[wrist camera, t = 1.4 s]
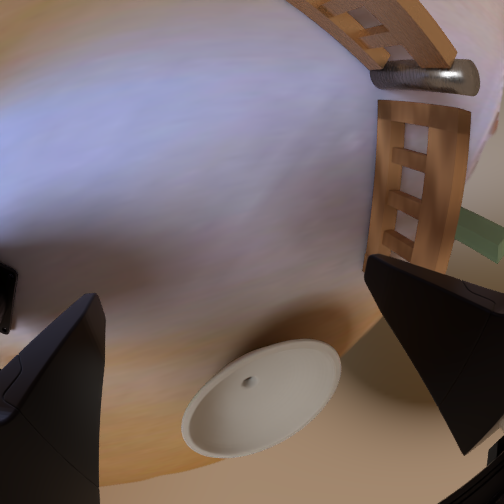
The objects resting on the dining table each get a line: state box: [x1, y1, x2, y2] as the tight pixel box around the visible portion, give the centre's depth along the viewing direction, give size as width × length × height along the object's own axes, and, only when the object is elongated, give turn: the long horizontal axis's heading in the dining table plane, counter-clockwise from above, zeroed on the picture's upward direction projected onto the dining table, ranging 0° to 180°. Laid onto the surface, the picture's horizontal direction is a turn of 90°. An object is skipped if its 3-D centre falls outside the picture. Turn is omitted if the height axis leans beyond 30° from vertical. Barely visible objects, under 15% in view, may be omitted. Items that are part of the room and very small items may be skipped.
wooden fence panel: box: [286, 0, 480, 96], centre depth 13 cm, size 2×17×9 cm, turn 58°
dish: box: [181, 339, 341, 458], centre depth 27 cm, size 18×14×5 cm
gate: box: [362, 100, 471, 274], centre depth 20 cm, size 15×2×8 cm, turn 2°
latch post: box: [454, 207, 504, 264], centre depth 25 cm, size 2×2×9 cm
